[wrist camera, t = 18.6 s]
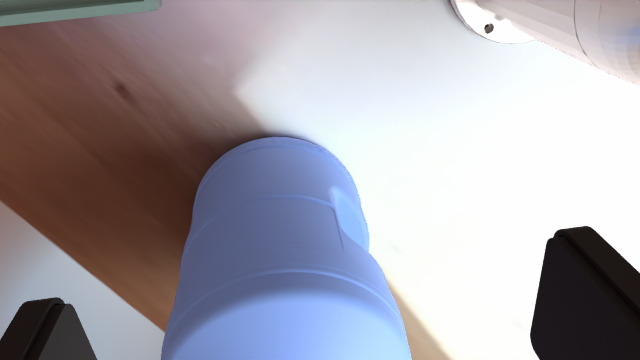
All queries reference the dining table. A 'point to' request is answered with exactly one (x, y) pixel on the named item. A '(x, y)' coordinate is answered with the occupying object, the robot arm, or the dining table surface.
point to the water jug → (281, 264)
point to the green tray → (67, 9)
